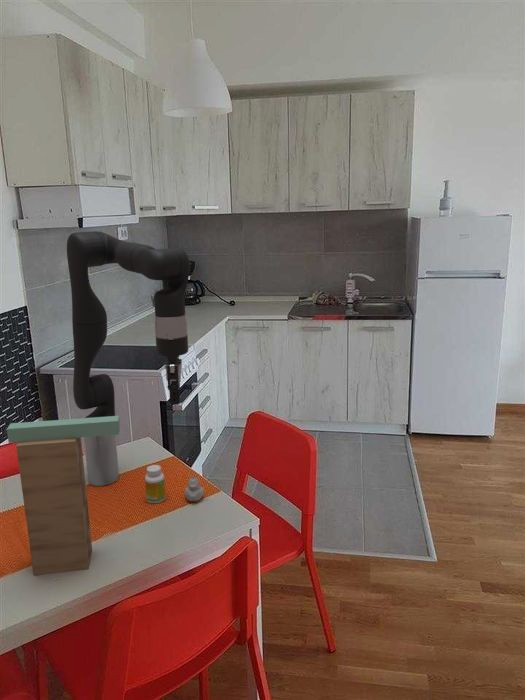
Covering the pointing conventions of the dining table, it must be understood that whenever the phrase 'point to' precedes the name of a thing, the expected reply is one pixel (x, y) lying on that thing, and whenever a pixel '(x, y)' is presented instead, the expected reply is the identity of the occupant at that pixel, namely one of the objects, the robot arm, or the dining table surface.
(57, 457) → the stand
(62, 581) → the dining table surface
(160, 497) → the supplement bottle
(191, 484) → the grey rounded piece
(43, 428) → the rod
